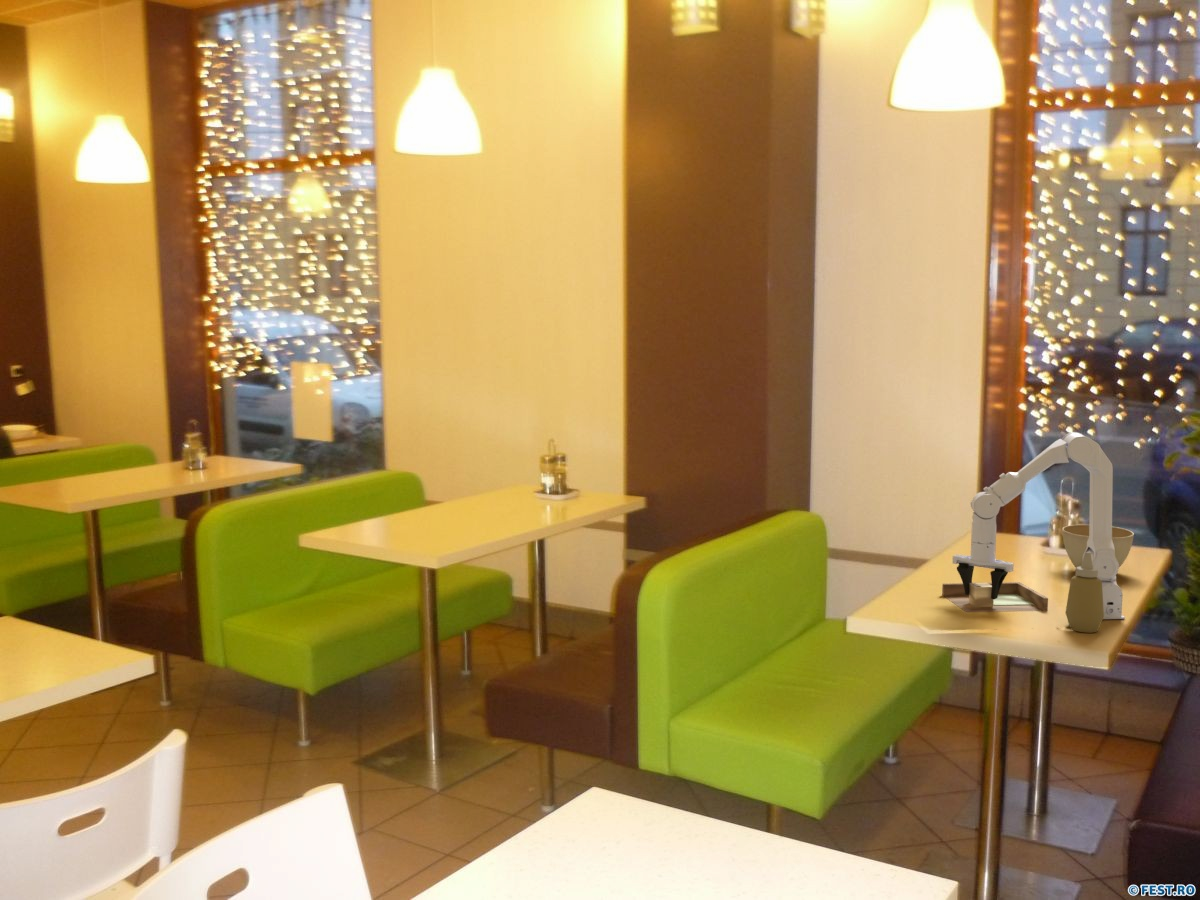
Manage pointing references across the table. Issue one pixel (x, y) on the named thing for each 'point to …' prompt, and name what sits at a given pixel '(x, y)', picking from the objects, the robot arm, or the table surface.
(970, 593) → the block
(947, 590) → the arena
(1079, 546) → the beige bowl
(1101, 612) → the squeeze bottle
